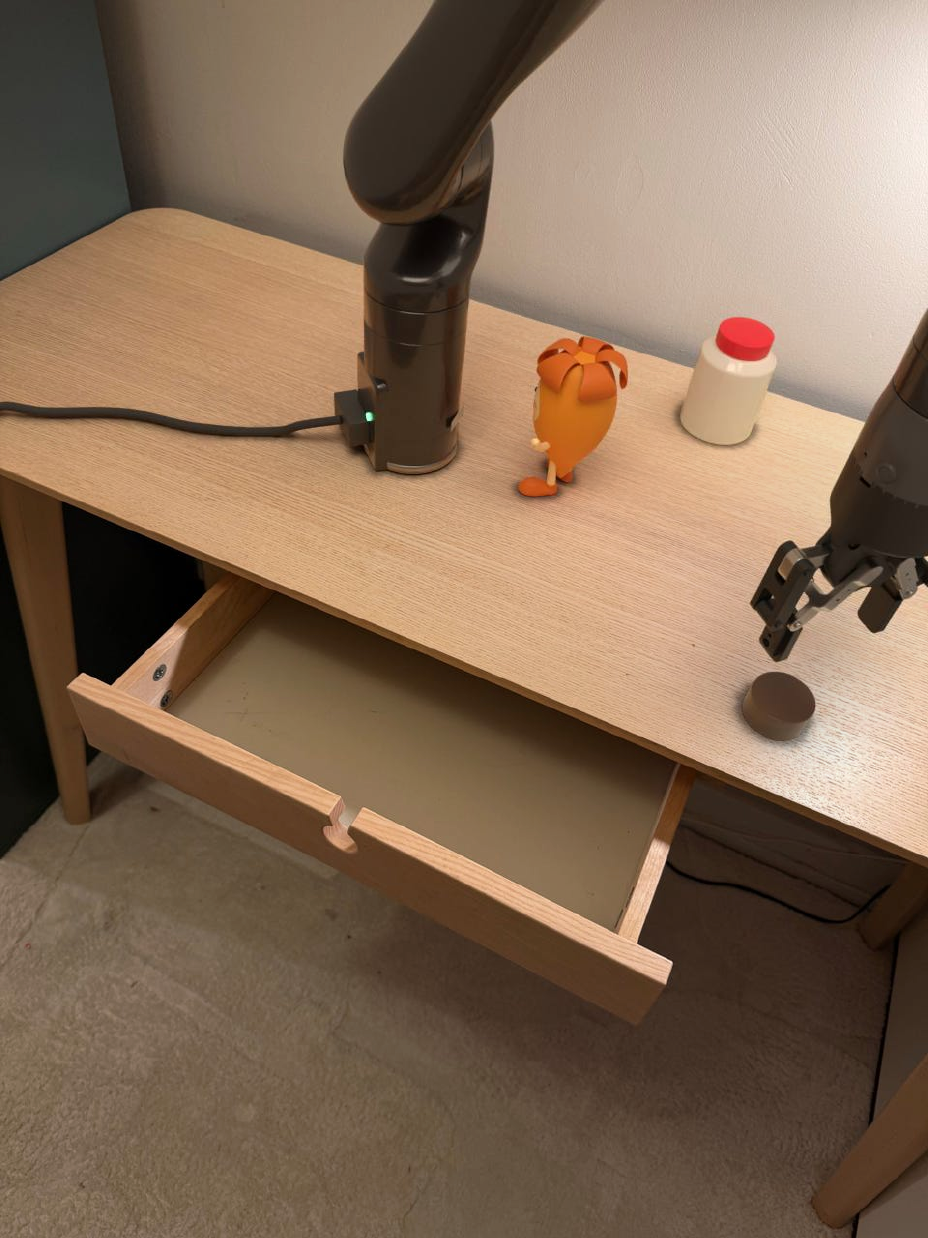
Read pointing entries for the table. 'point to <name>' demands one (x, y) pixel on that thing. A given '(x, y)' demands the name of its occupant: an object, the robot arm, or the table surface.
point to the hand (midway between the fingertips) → (820, 638)
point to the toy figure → (572, 406)
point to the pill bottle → (730, 382)
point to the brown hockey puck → (778, 705)
